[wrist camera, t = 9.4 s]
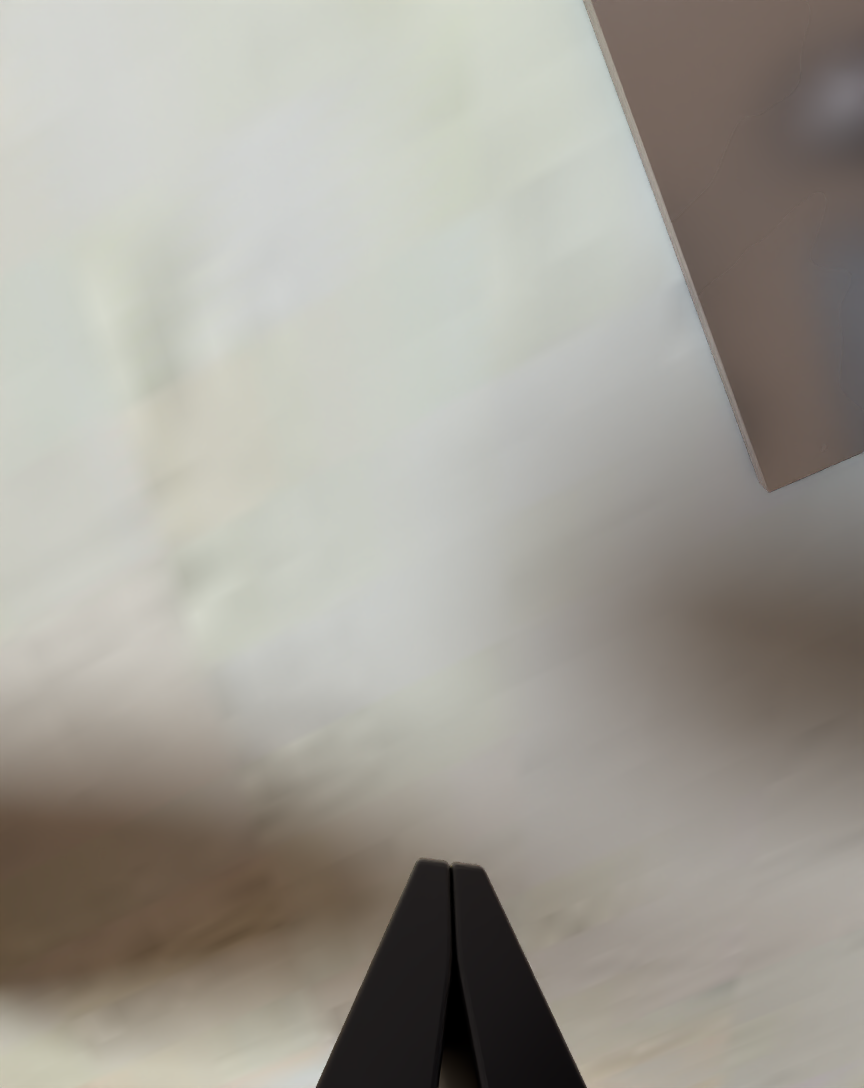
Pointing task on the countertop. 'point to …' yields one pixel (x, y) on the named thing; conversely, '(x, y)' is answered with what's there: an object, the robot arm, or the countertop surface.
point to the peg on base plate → (759, 201)
